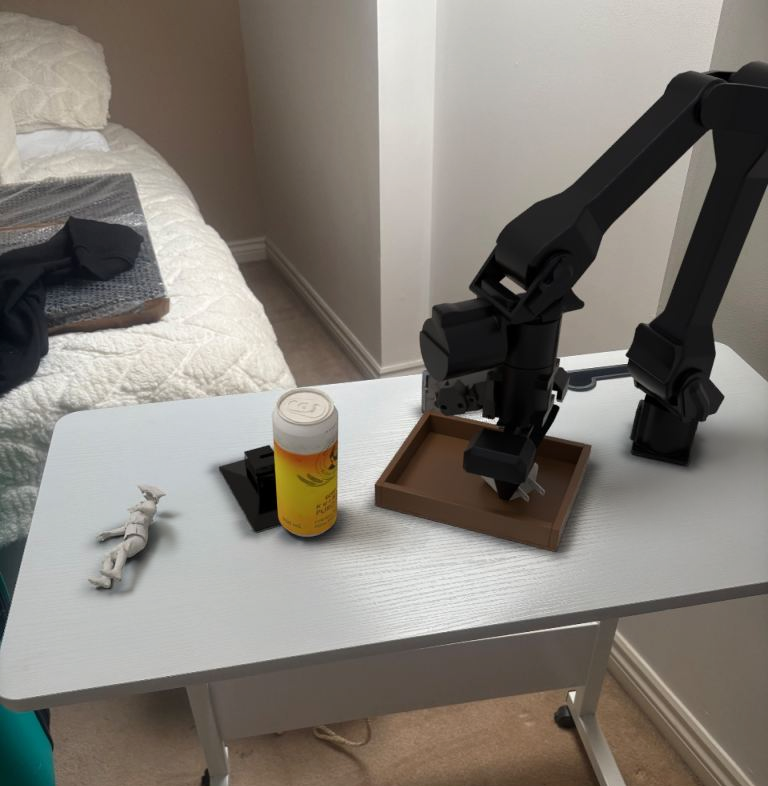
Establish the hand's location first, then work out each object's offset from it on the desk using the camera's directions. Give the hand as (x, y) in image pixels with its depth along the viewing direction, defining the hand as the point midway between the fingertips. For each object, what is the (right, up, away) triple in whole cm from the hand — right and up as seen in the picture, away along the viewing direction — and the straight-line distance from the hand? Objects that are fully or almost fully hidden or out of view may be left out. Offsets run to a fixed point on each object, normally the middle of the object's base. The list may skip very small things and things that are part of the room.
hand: (511, 483), depth 90 cm
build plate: (-27, -1, +1) cm, 27 cm away
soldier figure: (-39, -7, -6) cm, 40 cm away
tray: (-3, 0, +1) cm, 3 cm away
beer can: (-22, -4, -3) cm, 22 cm away
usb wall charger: (0, -1, 0) cm, 1 cm away
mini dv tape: (-5, +10, +14) cm, 17 cm away
